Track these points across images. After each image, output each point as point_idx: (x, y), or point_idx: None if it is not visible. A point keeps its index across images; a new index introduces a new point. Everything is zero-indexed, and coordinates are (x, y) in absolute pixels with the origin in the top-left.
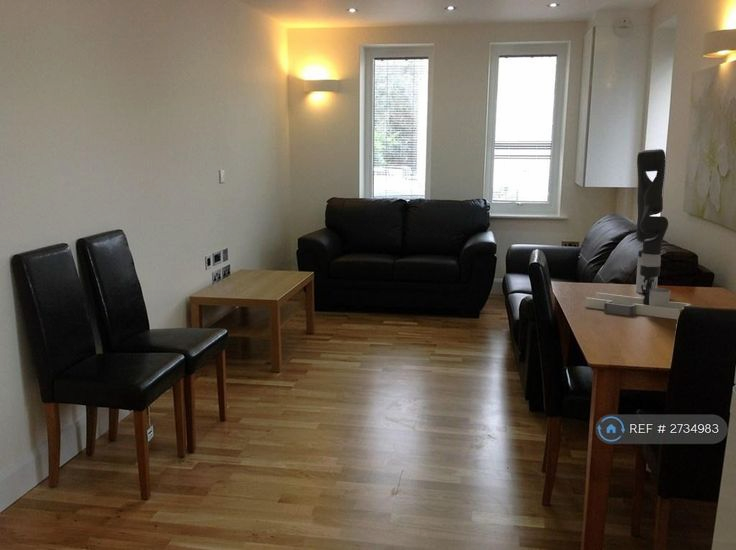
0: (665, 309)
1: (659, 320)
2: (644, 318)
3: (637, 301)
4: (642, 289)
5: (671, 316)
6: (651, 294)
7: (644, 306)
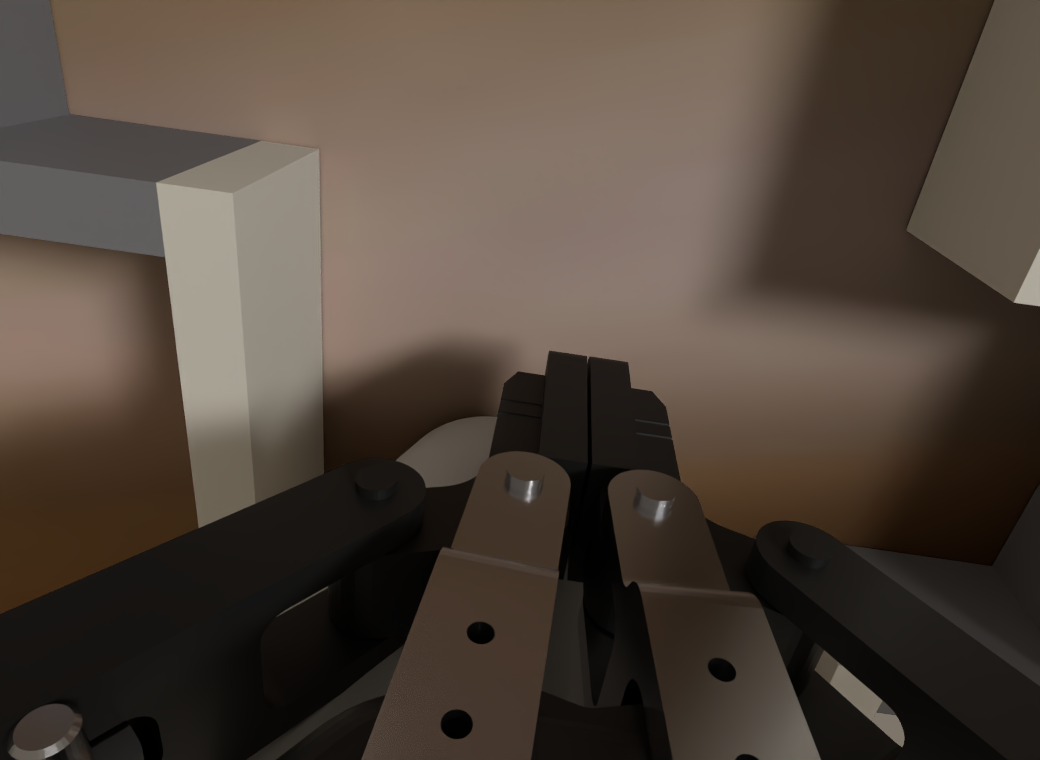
0: None
1: (85, 543)
2: (40, 367)
3: (1020, 141)
4: (30, 630)
5: None
6: None
7: (198, 409)
